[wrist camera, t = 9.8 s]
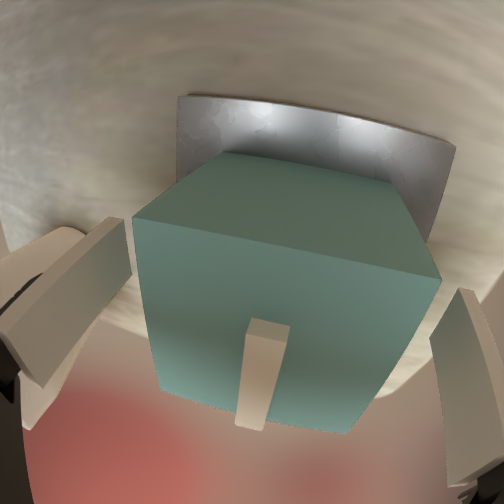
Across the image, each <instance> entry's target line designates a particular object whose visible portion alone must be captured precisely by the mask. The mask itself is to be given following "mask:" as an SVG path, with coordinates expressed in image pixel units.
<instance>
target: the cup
mask: <svg viewBox="0 0 504 504" xmlns="http://www.w3.org/2000/svg"><path fill="white" fill-rule="evenodd" d="M84 236H86V235H85V234H83V233H82V232H80V231H79V230H76V229H74V228H71V227H60V228H57V229H55V230H53V231H51V232H50V233H48V234H46V235H44V236H42V237H40V238H38V239H36V240H34V241H32V242H31V243H29V244H27V245H25V246H23V247H22V248H20V249H18V250H16V251H14V252H13V253H11V254H9V255H7V256H6V257H4V258H2V259H0V309H1V308H2V307H3V306H4V305H5V303H6V302H7V301H8V300H9V299H10V298H11V297H14V294H15V293H16V292H17V291H18V290H21V288H22V287H23V286H24V285H25V284H26V283H27V282H28V281H29V280H30V279H32V278H33V277H35V276H37V275H39V274H40V273H44V272H45V271H46V270H47V269H48V268H49V267H50V266H51V265H53V264H54V263H55V262H56V261H57V260H58V259H59V258H60V257H61V256H63V255H64V254H65V253H66V252H67V251H68V250H69V249H70V248H72V247H73V246H74V245H75V244H76V243H77V242H79V241H80V240H81V239H82V238H83V237H84ZM102 311H103V310H102ZM102 311H101V313H102ZM101 313H100V314H101ZM100 314H99V315H98V316H97V318H96V319H95V320H94V321H93V323H92V324H91V325H90V326H89V328H88V329H87V330H86V332H85V333H84V334H83V335H82V337H81V338H80V339H79V341H78V342H77V343H76V344H75V346H74V347H73V348H72V350H71V351H70V352H69V354H68V355H67V356H66V358H65V359H64V360H63V362H62V363H61V364H60V366H59V367H58V369H57V370H56V371H55V373H54V374H53V375H52V377H51V378H50V380H49V381H48V382H47V384H46V385H45V387H44V388H43V389H41V388H40V387H38V386H37V385H35V384H34V383H32V382H31V381H29V380H28V379H27V377H26V376H25V375H24V373H23V372H22V370H20V372H19V373H18V376H19V377H20V392H21V418H22V426H23V427H24V428H26V429H28V430H31V429H32V427H33V426H34V425H35V423H36V422H37V421H38V419H39V418H40V417H41V416H42V414H43V413H44V412H45V410H46V409H47V408H48V407H49V406H50V404H51V403H52V402H53V401H54V400H55V399H56V397H57V395H58V393H59V391H60V389H61V387H62V385H63V383H64V381H65V379H66V377H67V375H68V373H69V371H70V369H71V368H72V366H73V364H74V362H75V360H76V358H77V356H78V354H79V352H80V350H81V349H82V346H83V345H84V343H85V341H86V339H87V337H88V336H89V334H90V332H91V330H92V328H93V327H94V325H95V323H96V321H97V320H98V318H99V316H100Z"/></svg>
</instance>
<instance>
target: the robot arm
mask: <svg viewBox="0 0 504 504" xmlns="http://www.w3.org/2000/svg"><path fill="white" fill-rule="evenodd" d="M131 275H132V272H131V266H130V260H129V254H128V247H127V241H126V234H125V226H124V219H118V218H113V217H108V218H106V219H105V220H104V221H103V222H101V223H100V224H99V225H98V226H97V227H95V228H94V229H93V230H92V231H90V232H89V233H88V234H87V235H86V236H84V237H83V238H82V239H81V240H80V241H79V242H77V243H76V244H75V245H74V246H73V247H72V248H70V249H69V250H68V251H67V252H66V253H65V254H64V255H63V256H61V257H60V258H59V259H58V260H57V261H56V262H55V263H54V264H53V265H51V266H50V267H49V268H48V269H47V270H46V271H45V272H44V273H40V274H39V275H37V276H35V277H33V278H32V279H30V280H29V281H28V282H27V283H26V284H25V285H24V286H23V287H22V288H21V290H18V291H17V292H16V293H15V294H14V297H11V298H10V299H9V300H8V301H7V302H6V303H5V305H4V306H3V307H2V308H1V309H0V504H34V503H33V499H32V493H31V489H30V483H29V478H28V472H27V466H26V458H25V451H24V442H23V431H22V418H21V392H20V377H19V376H18V373H19V372H20V370H22V372H23V373H24V375H25V376H26V377H27V379H28V380H29V381H31V382H32V383H34V384H35V385H37V386H38V387H40V388H41V389H43V388H44V387H45V385H46V384H47V382H48V381H49V380H50V378H51V377H52V375H53V374H54V373H55V371H56V370H57V369H58V367H59V366H60V364H61V363H62V362H63V360H64V359H65V358H66V356H67V355H68V354H69V352H70V351H71V350H72V348H73V347H74V346H75V344H76V343H77V342H78V341H79V339H80V338H81V337H82V335H83V334H84V333H85V332H86V330H87V329H88V328H89V326H90V325H91V324H92V323H93V321H94V320H95V319H96V318H97V316H98V315H99V314H100V313H101V311H102V310H103V309H104V308H105V306H106V305H107V304H108V303H109V302H110V300H111V299H112V298H113V297H114V295H115V294H116V293H117V292H118V291H119V289H120V288H121V287H122V286H123V285H124V284H125V282H126V281H127V280H128V279H129V278H130V276H131ZM429 339H430V343H431V348H432V353H433V358H434V363H435V369H436V374H437V380H438V386H439V393H440V399H441V406H442V414H443V423H444V433H445V445H446V458H447V481H448V482H447V487H454V486H462V485H466V484H468V483H470V482H472V481H473V480H475V479H477V481H478V485H476V486H474V487H473V488H471V489H469V490H467V491H465V492H463V493H461V494H460V495H459V496H458V499H460V498H463V497H464V496H466V495H468V497H467V498H466V499H464V500H462V502H463V504H504V367H503V364H502V361H501V358H500V355H499V352H498V349H497V347H496V344H495V341H494V338H493V336H492V333H491V331H490V328H489V325H488V323H487V320H486V318H485V316H484V313H483V311H482V309H481V306H480V304H479V302H478V299H477V297H476V295H475V293H474V291H472V290H468V289H463V288H458V290H457V291H456V293H455V295H454V297H453V299H452V301H451V302H450V304H449V306H448V308H447V310H446V311H445V313H444V315H443V316H442V318H441V320H440V321H439V323H438V325H437V326H436V328H435V330H434V331H433V333H432V335H431V336H430V338H429Z"/></svg>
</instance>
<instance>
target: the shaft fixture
mask: <svg viewBox="0 0 504 504" xmlns="http://www.w3.org/2000/svg"><path fill="white" fill-rule="evenodd" d="M455 150H456V147H455V146H454V145H452V144H451V143H449V142H447V141H444V140H441V139H438V138H435V137H432V136H429V135H425V134H422V133H419V132H416V131H412V130H409V129H405V128H402V127H398V126H395V125H391V124H387V123H383V122H379V121H375V120H371V119H367V118H363V117H359V116H354V115H350V114H345V113H340V112H335V111H330V110H325V109H319V108H313V107H307V106H301V105H295V104H288V103H281V102H273V101H265V100H256V99H246V98H235V97H222V96H205V95H184V96H178V110H177V183H178V182H179V181H181V180H182V179H183V178H185V177H186V176H188V175H189V174H190V173H192V172H193V171H195V170H196V169H198V168H199V167H201V166H202V165H204V164H205V163H206V162H208V161H209V160H211V159H212V158H214V157H215V156H217V155H218V154H220V153H221V152H227V153H234V154H242V155H249V156H256V157H262V158H269V159H275V160H281V161H287V162H293V163H298V164H304V165H309V166H314V167H319V168H324V169H329V170H334V171H339V172H344V173H348V174H353V175H357V176H362V177H366V178H370V179H375V180H379V181H383V182H387V183H391V184H393V185H394V187H395V188H396V190H397V192H398V193H399V195H400V197H401V199H402V200H403V202H404V204H405V206H406V208H407V209H408V211H409V213H410V215H411V217H412V219H413V221H414V222H415V224H416V226H417V228H418V230H419V232H420V234H421V236H422V238H423V240H424V242H425V244H426V241H427V239H428V236H429V233H430V231H431V228H432V225H433V222H434V219H435V217H436V214H437V211H438V208H439V205H440V202H441V199H442V195H443V192H444V189H445V186H446V182H447V179H448V176H449V172H450V169H451V165H452V161H453V158H454V154H455Z"/></svg>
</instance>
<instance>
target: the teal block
mask: <svg viewBox="0 0 504 504" xmlns="http://www.w3.org/2000/svg"><path fill="white" fill-rule="evenodd" d="M132 225H133V235H134V244H135V253H136V261H137V268H138V276H139V283H140V289H141V296H142V302H143V308H144V314H145V320H146V325H147V331H148V336H149V341H150V346H151V351H152V355H153V360H154V364H155V369H156V373H157V378H158V382H159V386H160V390H162V391H164V392H167V393H170V394H173V395H176V396H179V397H182V398H185V399H188V400H191V401H194V402H198V403H201V404H204V405H208V406H211V407H215V408H218V409H222V410H225V411H229V412H233V413H236V420H235V425H238V426H242V427H246V428H250V429H254V430H259V431H262V430H263V426H264V423H265V420H266V421H270V422H275V423H280V424H285V425H290V426H295V427H301V428H307V429H313V430H319V431H326V432H333V433H341V434H347V433H348V432H349V431H350V429H351V428H352V427H353V425H354V424H355V423H356V421H357V420H358V419H359V418H360V416H361V415H362V414H363V412H364V411H365V410H366V408H367V407H368V405H369V404H370V403H371V401H372V400H373V398H374V397H375V396H376V394H377V393H378V391H379V390H380V388H381V387H382V385H383V384H384V382H385V381H386V379H387V378H388V376H389V375H390V373H391V372H392V370H393V369H394V367H395V366H396V364H397V362H398V361H399V359H400V358H401V356H402V354H403V353H404V351H405V349H406V348H407V346H408V344H409V342H410V341H411V339H412V337H413V336H414V334H415V332H416V330H417V328H418V327H419V325H420V323H421V321H422V319H423V317H424V316H425V314H426V312H427V310H428V308H429V306H430V304H431V302H432V300H433V298H434V296H435V294H436V292H437V290H438V288H439V286H440V284H441V282H442V279H441V276H440V274H439V272H438V270H437V267H436V265H435V263H434V261H433V259H432V257H431V254H430V252H429V250H428V248H427V246H426V244H425V242H424V240H423V238H422V236H421V234H420V232H419V230H418V228H417V226H416V224H415V222H414V221H413V219H412V217H411V215H410V213H409V211H408V209H407V208H406V206H405V204H404V202H403V200H402V199H401V197H400V195H399V193H398V192H397V190H396V188H395V187H394V185H393V184H391V183H387V182H383V181H379V180H375V179H370V178H366V177H362V176H357V175H353V174H348V173H344V172H339V171H334V170H329V169H324V168H319V167H314V166H309V165H304V164H298V163H293V162H287V161H281V160H275V159H269V158H262V157H256V156H249V155H242V154H234V153H227V152H221V153H220V154H218V155H217V156H215V157H214V158H212V159H211V160H209V161H208V162H206V163H205V164H204V165H202V166H201V167H199V168H198V169H196V170H195V171H193V172H192V173H190V174H189V175H188V176H186V177H185V178H183V179H182V180H181V181H179V182H178V183H176V184H175V185H174V186H172V187H171V188H169V189H168V190H167V191H165V192H164V193H163V194H161V195H160V196H159V197H157V198H156V199H155V200H153V201H152V202H151V203H149V204H148V205H147V206H145V207H144V208H143V209H141V210H140V211H139V212H138V213H136V214H135V215H134V216H132Z"/></svg>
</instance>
